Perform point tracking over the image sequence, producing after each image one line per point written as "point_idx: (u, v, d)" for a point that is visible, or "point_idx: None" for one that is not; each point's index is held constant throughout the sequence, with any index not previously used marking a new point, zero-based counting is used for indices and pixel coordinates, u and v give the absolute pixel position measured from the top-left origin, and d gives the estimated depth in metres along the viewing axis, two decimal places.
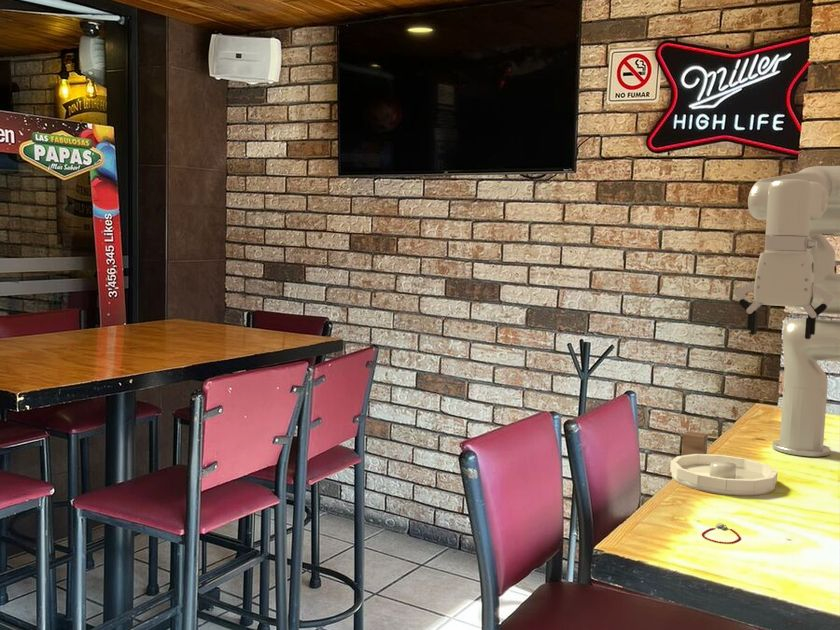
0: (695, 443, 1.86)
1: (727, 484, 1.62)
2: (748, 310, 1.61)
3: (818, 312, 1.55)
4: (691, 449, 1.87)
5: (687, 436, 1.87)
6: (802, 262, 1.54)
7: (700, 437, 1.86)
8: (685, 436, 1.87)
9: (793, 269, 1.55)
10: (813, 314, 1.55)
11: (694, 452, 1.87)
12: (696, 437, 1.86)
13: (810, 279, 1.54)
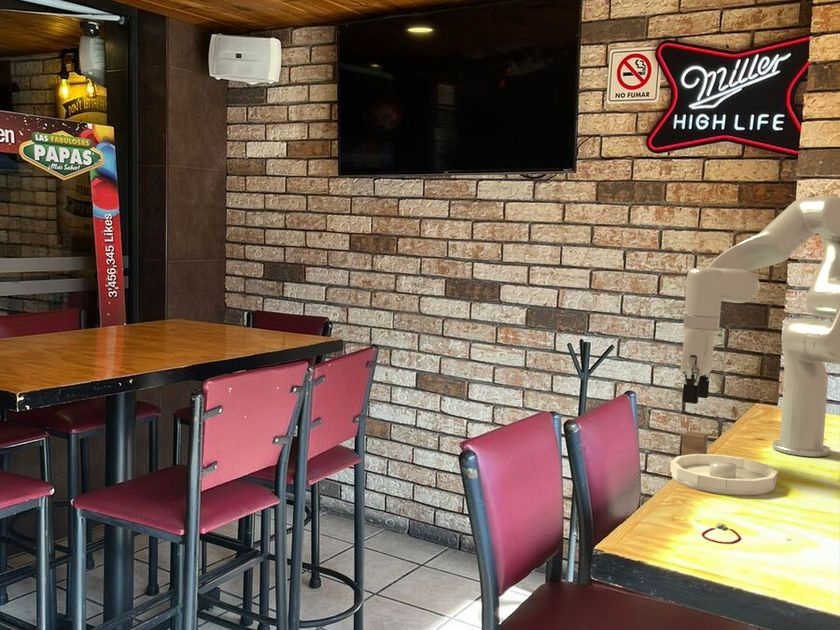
0: (695, 443, 1.86)
1: (727, 484, 1.62)
2: (696, 383, 1.82)
3: None
4: (691, 449, 1.87)
5: (687, 436, 1.87)
6: None
7: (700, 437, 1.86)
8: (685, 436, 1.87)
9: (713, 343, 1.87)
10: (708, 377, 1.91)
11: (694, 452, 1.87)
12: (696, 437, 1.86)
13: None
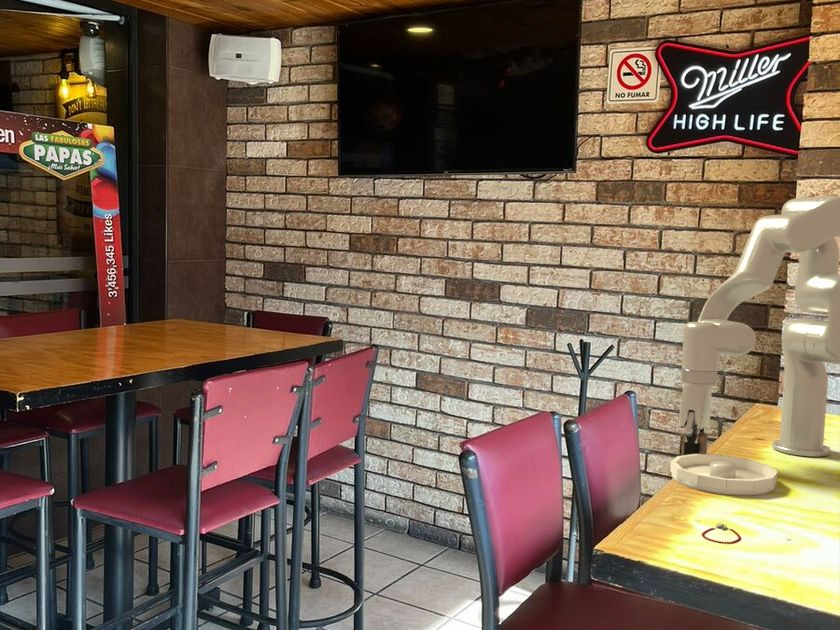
0: None
1: (727, 484, 1.62)
2: (697, 441, 1.85)
3: None
4: None
5: None
6: (711, 389, 1.89)
7: (700, 437, 1.86)
8: None
9: (710, 396, 1.88)
10: None
11: None
12: None
13: None
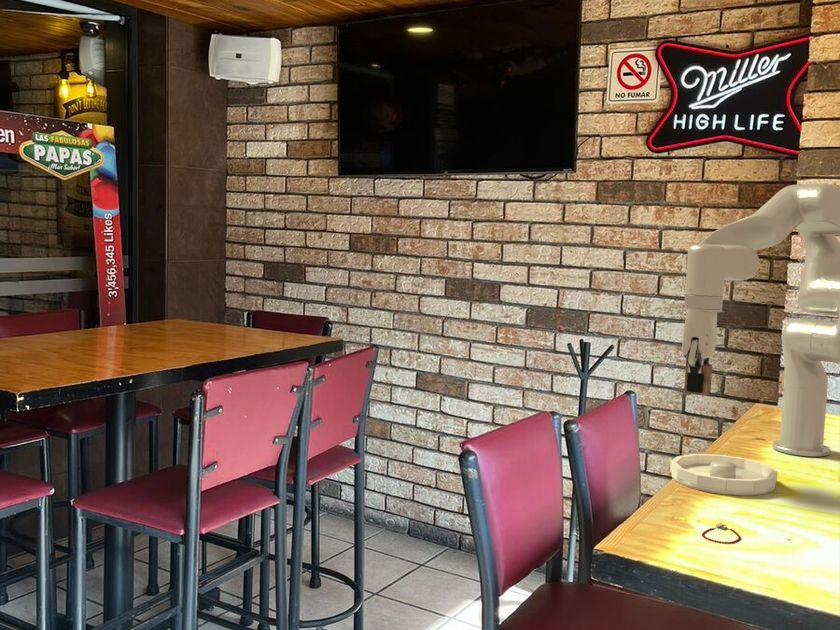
0: None
1: (727, 484, 1.62)
2: (700, 371, 1.73)
3: None
4: None
5: None
6: None
7: (704, 367, 1.74)
8: None
9: (716, 325, 1.76)
10: None
11: None
12: None
13: None
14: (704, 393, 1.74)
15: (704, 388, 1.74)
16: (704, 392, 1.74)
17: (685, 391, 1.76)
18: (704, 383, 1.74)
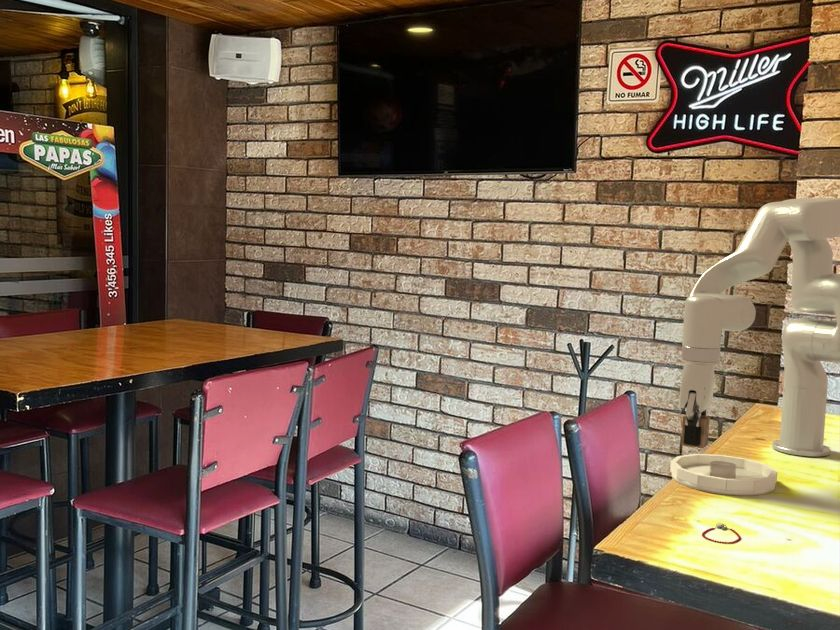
0: None
1: (727, 484, 1.62)
2: (698, 424, 1.71)
3: None
4: None
5: None
6: None
7: (701, 420, 1.71)
8: (685, 419, 1.73)
9: (713, 376, 1.74)
10: None
11: None
12: None
13: None
14: (702, 446, 1.72)
15: (702, 441, 1.72)
16: (702, 445, 1.72)
17: (682, 443, 1.74)
18: (702, 436, 1.72)
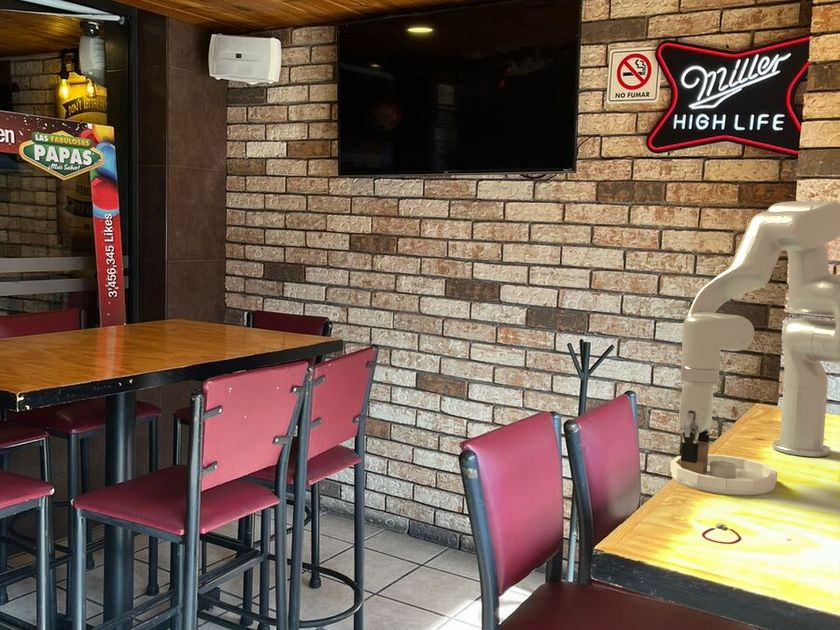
0: None
1: (727, 484, 1.62)
2: (695, 441, 1.69)
3: None
4: None
5: None
6: None
7: (701, 447, 1.72)
8: None
9: (712, 396, 1.74)
10: (708, 431, 1.79)
11: None
12: None
13: None
14: (701, 473, 1.72)
15: (701, 468, 1.72)
16: (701, 472, 1.72)
17: None
18: (701, 463, 1.72)
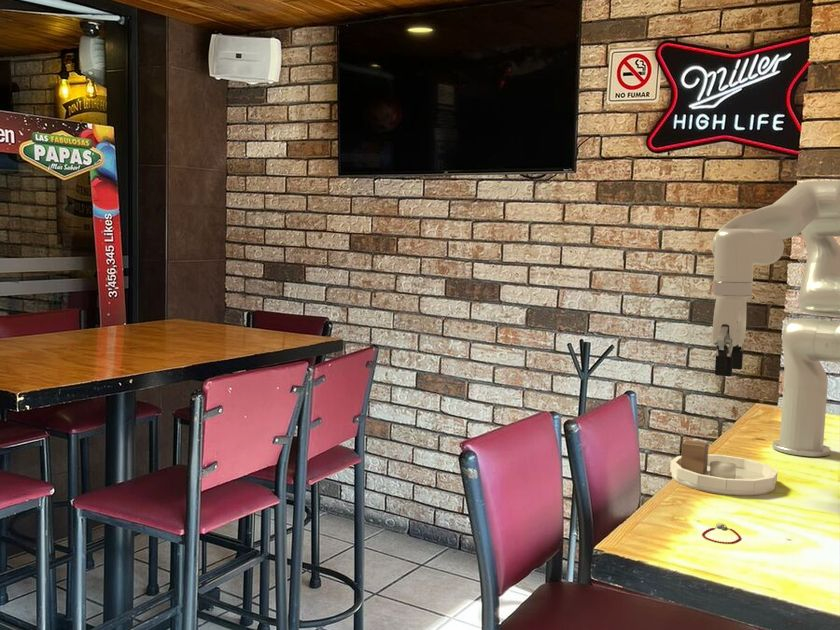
0: (695, 453, 1.73)
1: (727, 484, 1.62)
2: (729, 354, 1.69)
3: None
4: (691, 460, 1.73)
5: (686, 446, 1.74)
6: None
7: (701, 447, 1.72)
8: (684, 446, 1.74)
9: (745, 310, 1.73)
10: (741, 347, 1.78)
11: (694, 462, 1.73)
12: (696, 447, 1.73)
13: None
14: (701, 473, 1.72)
15: (701, 468, 1.72)
16: (701, 472, 1.72)
17: None
18: (701, 463, 1.72)
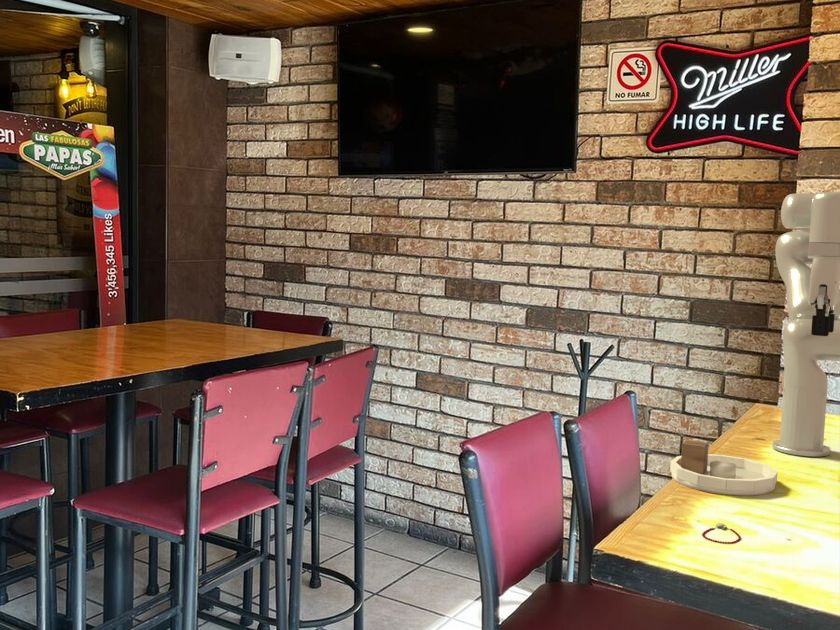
0: (695, 453, 1.73)
1: (727, 484, 1.62)
2: (827, 313, 1.70)
3: (831, 308, 1.81)
4: (691, 460, 1.73)
5: (686, 446, 1.74)
6: None
7: (701, 447, 1.72)
8: (684, 446, 1.74)
9: None
10: None
11: (694, 462, 1.73)
12: (696, 447, 1.73)
13: None
14: (701, 473, 1.72)
15: (701, 468, 1.72)
16: (701, 472, 1.72)
17: None
18: (701, 463, 1.72)
